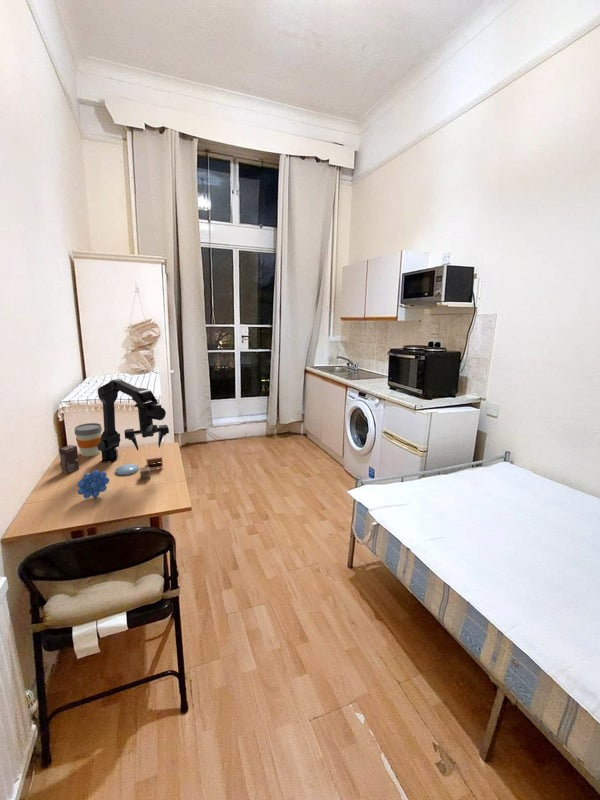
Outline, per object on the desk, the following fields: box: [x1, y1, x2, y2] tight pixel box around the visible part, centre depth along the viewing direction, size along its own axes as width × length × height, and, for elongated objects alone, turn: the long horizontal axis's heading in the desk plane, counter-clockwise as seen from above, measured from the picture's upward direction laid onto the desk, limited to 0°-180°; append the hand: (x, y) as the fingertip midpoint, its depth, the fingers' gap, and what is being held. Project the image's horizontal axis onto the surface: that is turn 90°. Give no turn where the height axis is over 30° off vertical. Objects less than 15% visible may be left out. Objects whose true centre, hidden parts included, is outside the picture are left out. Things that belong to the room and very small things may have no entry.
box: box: [58, 444, 80, 474], centre depth 168 cm, size 6×4×12 cm
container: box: [145, 451, 164, 471], centre depth 175 cm, size 7×7×6 cm
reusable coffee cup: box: [74, 422, 103, 457], centre depth 188 cm, size 12×12×15 cm
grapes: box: [77, 469, 110, 499], centre depth 146 cm, size 12×7×12 cm, turn 120°
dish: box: [115, 463, 140, 476], centre depth 171 cm, size 10×10×1 cm
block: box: [139, 466, 151, 482], centre depth 164 cm, size 4×4×4 cm
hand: (148, 448), depth 166 cm, fingers open, 9 cm apart
